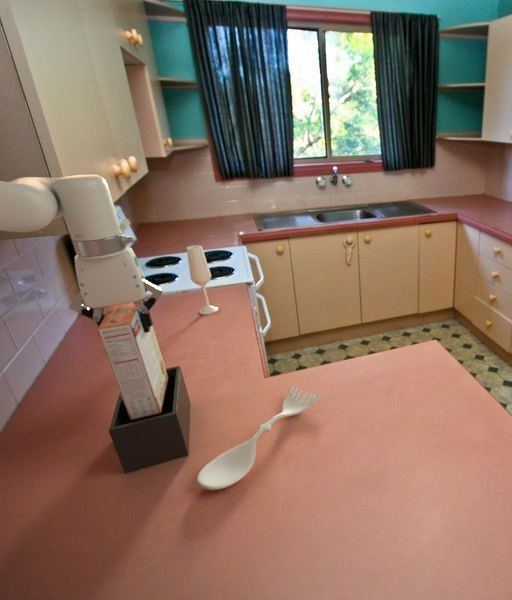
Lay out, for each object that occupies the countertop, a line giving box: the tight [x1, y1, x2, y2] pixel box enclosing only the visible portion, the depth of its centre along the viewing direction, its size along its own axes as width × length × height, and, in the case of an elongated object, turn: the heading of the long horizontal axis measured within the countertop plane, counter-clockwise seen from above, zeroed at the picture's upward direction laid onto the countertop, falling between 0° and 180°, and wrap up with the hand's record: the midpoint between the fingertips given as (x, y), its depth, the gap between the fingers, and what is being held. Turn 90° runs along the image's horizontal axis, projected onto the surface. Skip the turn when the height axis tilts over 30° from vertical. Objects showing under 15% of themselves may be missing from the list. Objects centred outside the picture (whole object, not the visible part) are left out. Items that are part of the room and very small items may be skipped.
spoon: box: [196, 384, 323, 491], centre depth 91 cm, size 9×32×4 cm, turn 155°
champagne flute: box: [186, 244, 219, 315], centre depth 151 cm, size 7×7×24 cm
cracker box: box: [96, 303, 168, 420], centre depth 87 cm, size 14×6×21 cm, turn 21°
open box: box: [108, 365, 191, 474], centre depth 92 cm, size 12×20×11 cm, turn 24°
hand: (128, 332), depth 84 cm, fingers closed on cracker box, 6 cm apart
